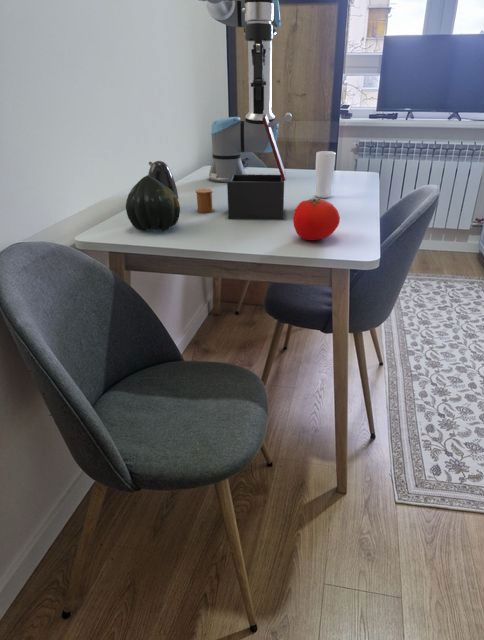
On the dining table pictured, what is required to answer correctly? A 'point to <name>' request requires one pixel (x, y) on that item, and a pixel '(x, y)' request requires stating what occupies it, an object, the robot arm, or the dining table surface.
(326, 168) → the drinking glass
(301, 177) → the dining table surface
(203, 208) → the orange tapered cylinder
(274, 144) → the lid
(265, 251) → the dining table surface
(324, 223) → the tomato
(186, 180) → the dining table surface
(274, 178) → the black storage bin
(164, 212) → the squash
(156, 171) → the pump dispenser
